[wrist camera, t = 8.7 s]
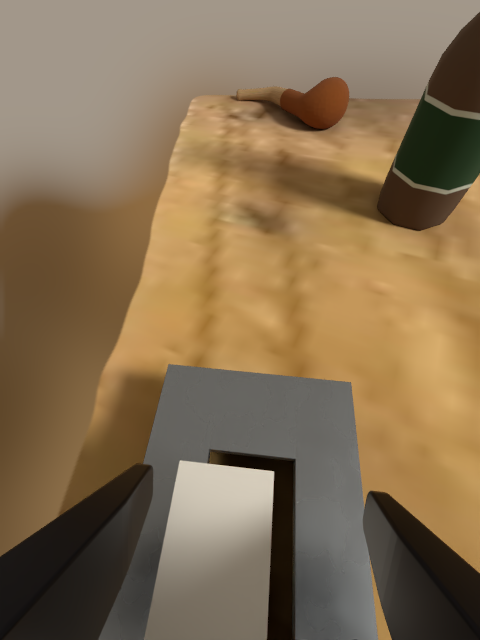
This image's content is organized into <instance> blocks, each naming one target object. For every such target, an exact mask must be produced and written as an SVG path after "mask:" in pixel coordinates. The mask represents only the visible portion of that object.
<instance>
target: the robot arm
mask: <svg viewBox="0 0 480 640" xmlns="http://www.w3.org/2000/svg"><path fill="white" fill-rule="evenodd" d="M152 496H153V467H152V466H151V465H149V464H141V463H137V464H135V465H133V466H132V467H130V468H129V469H128V470H126V471H125V472H123V473H122V474H120V475H119V476H117V477H116V478H114V479H113V480H111V481H110V482H109V483H107V484H106V485H104V486H103V487H101V488H100V489H98V490H97V491H95V492H94V493H92V494H91V495H90V496H88V497H87V498H85V499H84V500H82V501H81V502H79V503H78V504H76V505H75V506H74V507H72V508H71V509H69V510H68V511H66V512H65V513H63V514H62V515H60V516H59V517H57V518H56V519H55V520H53V521H52V522H50V523H49V524H47V525H46V526H44V527H43V528H41V529H40V530H39V531H37V532H36V533H34V534H33V535H31V536H30V537H28V538H27V539H25V540H24V541H23V542H21V543H20V544H18V545H17V546H15V547H14V548H12V549H11V550H9V551H8V552H6V553H5V554H3V555H2V556H1V557H0V640H98V639H99V637H100V634H101V632H102V630H103V627H104V625H105V623H106V621H107V618H108V616H109V614H110V612H111V609H112V607H113V605H114V602H115V600H116V598H117V596H118V593H119V591H120V589H121V587H122V584H123V582H124V579H125V577H126V575H127V572H128V570H129V567H130V564H131V561H132V558H133V555H134V552H135V549H136V546H137V543H138V540H139V537H140V534H141V531H142V528H143V525H144V522H145V519H146V516H147V513H148V510H149V507H150V504H151V501H152ZM363 530H364V534H365V539H366V543H367V547H368V552H369V556H370V560H371V564H372V569H373V573H374V577H375V582H376V586H377V590H378V594H379V598H380V602H381V606H382V609H383V613H384V616H385V619H386V622H387V626H388V629H389V632H390V635H391V638H392V640H480V573H479V572H478V571H476V570H475V569H474V568H473V567H472V566H471V565H470V564H468V563H467V562H466V561H465V560H464V559H463V558H461V557H460V556H459V555H458V554H457V553H456V552H455V551H453V550H452V549H451V548H450V547H449V546H448V545H447V544H445V543H444V542H443V541H442V540H441V539H440V538H438V537H437V536H436V535H435V534H434V533H433V532H432V531H430V530H429V529H428V528H427V527H426V526H425V525H423V524H422V523H421V522H420V521H419V520H418V519H417V518H415V517H414V516H413V515H412V514H411V513H410V512H409V511H407V510H406V509H405V508H404V507H403V506H402V505H400V504H399V503H398V502H397V501H396V500H395V499H394V498H392V497H391V496H390V495H389V494H388V493H385V492H379V491H370V492H369V493H368V495H367V499H366V504H365V509H364V514H363Z"/></svg>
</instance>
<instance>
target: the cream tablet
mask: <svg viewBox="0 0 480 640" xmlns="http://www.w3.org/2000/svg"><path fill="white" fill-rule="evenodd" d="M273 487H274V471H267V470H258V469H250V468H241V467H232V466H224V465H215V464H207V463H198V462H190V461H181V460H180V462H179V467H178V472H177V477H176V482H175V487H174V492H173V497H172V502H171V507H170V512H169V517H168V522H167V527H166V532H165V537H164V542H163V547H162V552H161V557H160V562H159V567H158V572H157V577H156V582H155V587H154V592H153V597H152V602H151V607H150V612H149V617H148V622H147V627H146V632H145V637H144V640H267V625H268V602H269V579H270V556H271V533H272V510H273Z"/></svg>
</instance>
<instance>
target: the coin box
mask: <svg viewBox="0 0 480 640" xmlns="http://www.w3.org/2000/svg"><path fill="white" fill-rule="evenodd" d="M210 452H218V453H227V454H236V455H244V456H253V457H262V458H271V459H279V460H288V461H293V584H292V640H378V635H377V626H376V616H375V606H374V597H373V587H372V578H371V568H370V559H369V552H368V547H367V543H366V539H365V534H364V530H363V514H364V502H363V492H362V482H361V473H360V463H359V454H358V444H357V435H356V425H355V416H354V406H353V397H352V387H351V382H342V381H332V380H322V379H312V378H302V377H292V376H282V375H271V374H261V373H251V372H241V371H231V370H221V369H211V368H201V367H191V366H181V365H171V364H169V365H168V369H167V373H166V377H165V381H164V384H163V388H162V392H161V396H160V400H159V404H158V408H157V412H156V415H155V419H154V423H153V427H152V431H151V435H150V439H149V443H148V446H147V450H146V454H145V458H144V462H143V464H149V465H151V466H152V467H153V496H152V501H151V504H150V507H149V510H148V513H147V516H146V519H145V522H144V525H143V528H142V531H141V534H140V537H139V540H138V543H137V546H136V549H135V552H134V555H133V558H132V561H131V564H130V567H129V570H128V572H127V575H126V577H125V579H124V582H123V584H122V587H121V589H120V591H119V593H118V596H117V598H116V600H115V602H114V605H113V607H112V609H111V612H110V614H109V616H108V618H107V621H106V623H105V625H104V627H103V630H102V632H101V634H100V637H99V639H98V640H144V637H145V632H146V627H147V622H148V617H149V612H150V607H151V602H152V597H153V592H154V587H155V582H156V577H157V572H158V567H159V562H160V557H161V552H162V547H163V542H164V537H165V532H166V527H167V522H168V517H169V512H170V507H171V502H172V497H173V492H174V487H175V482H176V477H177V472H178V467H179V462H180V460H181V461H190V462H198V463H207V464H209V459H210Z"/></svg>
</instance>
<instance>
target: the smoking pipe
mask: <svg viewBox="0 0 480 640" xmlns="http://www.w3.org/2000/svg"><path fill="white" fill-rule="evenodd" d="M237 99H238V100H239V101H242V100H266V101H271V102H274V103H276V104H277V105H279V106H280V107H281V108H282V109H283V110H285V111H287V112H289V113H291V114H293V115H295V116H297V117H299V118H300V119H301V120H302V121H303V122H304V123H306V124H307V125H309V126H311V127H314V128H317V129H326V128H329V127H332V126H333V125H335V124H336V123H337V122H338V121H339V120H340V119H341V118H342V117H343V115H344V113H345V111H346V109H347V106H348V102H349V90H348V86H347V84H346V83H345V82H344V81H343V80H342V79H341V78H338V77H332V78H327V79H324V80H323V81H321V82H320V83H319V84H317V85H316V86H315V87H313V88H312V89H311V90H309V91H308V92H307V93H305V94H304V93H301V92H298V91H295V90H292V89H285V88H281V87H267V88H259V89H246V90H242V89H239V90H238V91H237Z"/></svg>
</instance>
